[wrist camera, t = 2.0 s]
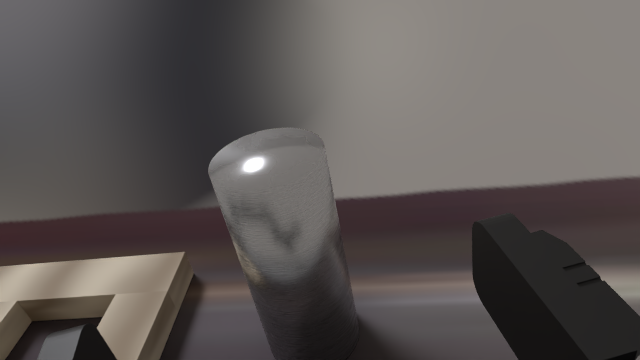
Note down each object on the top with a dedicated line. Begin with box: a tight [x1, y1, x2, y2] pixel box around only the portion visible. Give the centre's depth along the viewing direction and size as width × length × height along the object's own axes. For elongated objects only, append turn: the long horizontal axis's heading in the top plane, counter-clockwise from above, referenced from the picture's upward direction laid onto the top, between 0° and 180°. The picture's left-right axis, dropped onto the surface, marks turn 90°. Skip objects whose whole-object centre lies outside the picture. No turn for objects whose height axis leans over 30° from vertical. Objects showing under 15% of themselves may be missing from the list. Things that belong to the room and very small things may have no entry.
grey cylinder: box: [208, 128, 359, 360], centre depth 25 cm, size 6×5×12 cm
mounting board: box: [0, 252, 194, 360], centre depth 29 cm, size 18×14×2 cm
